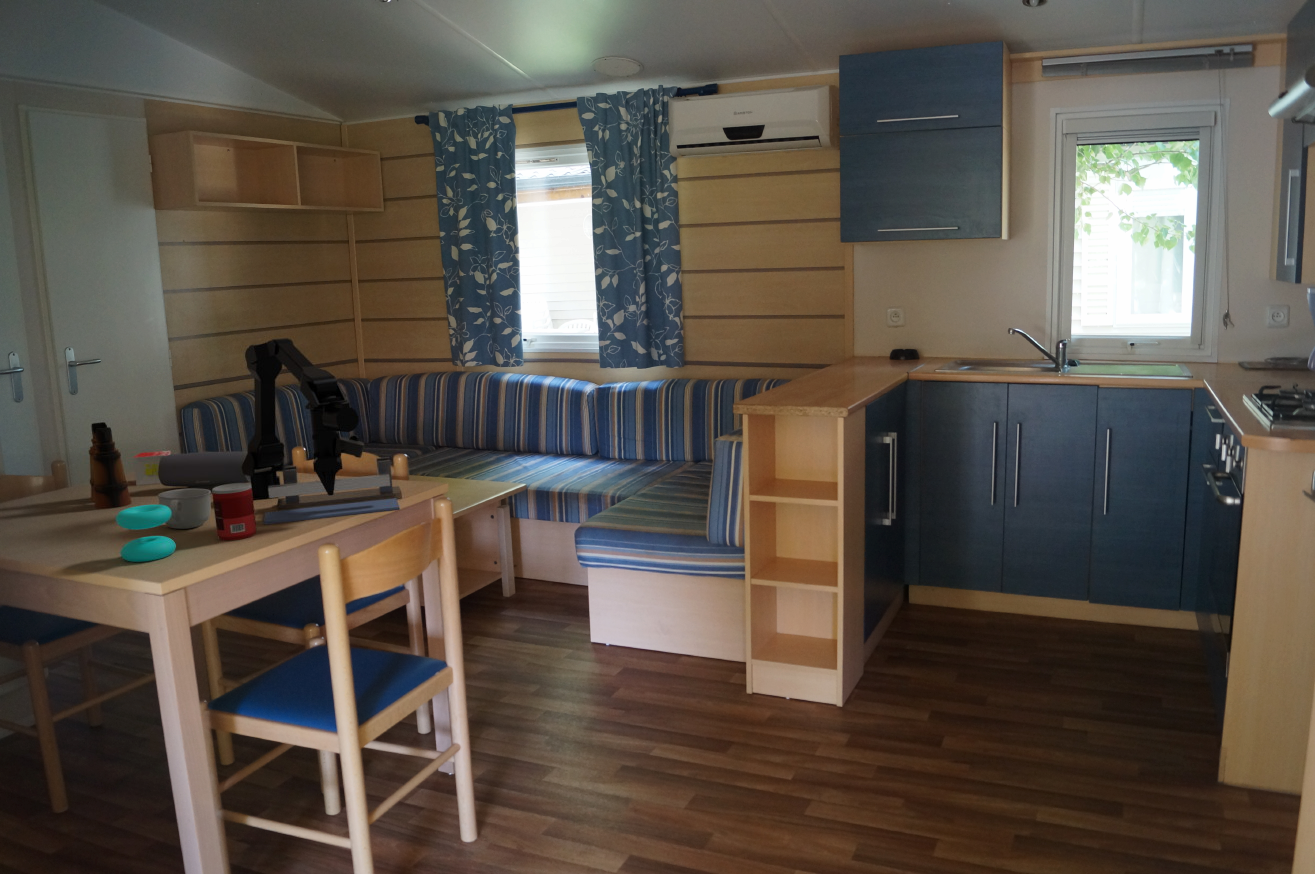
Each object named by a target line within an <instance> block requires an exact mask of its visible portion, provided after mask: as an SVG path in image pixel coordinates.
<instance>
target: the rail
mask: <svg viewBox="0 0 1315 874" xmlns="http://www.w3.org/2000/svg"><path fill="white" fill-rule="evenodd" d="M382 486H390V478H389V474H383V475H378V474H377V475H376V474H375V475H366V476H356V477H345V478H344V477H343V478H335V485H334V492H344V491H353V490H363V489H373V488H379V487H382ZM268 491H269V498H268V499H271V498H272V499H275V498H285V496H294V495H299V496H305V495H315V494H324V493H327V492H326V490H325V488H324V486H323V484H322V482H321V481H320V480H315V481H313V480H312V481H305V482H304V481H303V482H298V483H292V484H284V483H283V484H281V485H272V486H269V487H268Z"/></svg>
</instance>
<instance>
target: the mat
mask: <svg viewBox="0 0 1315 874" xmlns="http://www.w3.org/2000/svg"><path fill="white" fill-rule="evenodd" d="M400 509H401V508H400V505H399V501H398V500H397V499H396V498H394V499H385V500H376V501H366V502H357V503H348V504H339V505H329V506H320V507H311V508H302V509H292V510H283V511H277V510H276V511H266V512H265V515H264V518H263V525H271V524H273V525H274V524H281V523H282V524H283V523H290V522H299V521H308V520H309V521H310V520H317V519H326V518H336V517H344V516H353V515H361V514H362V515H363V514H371V513H381V512H389V511H397V510H398V511H399V510H400Z"/></svg>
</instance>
